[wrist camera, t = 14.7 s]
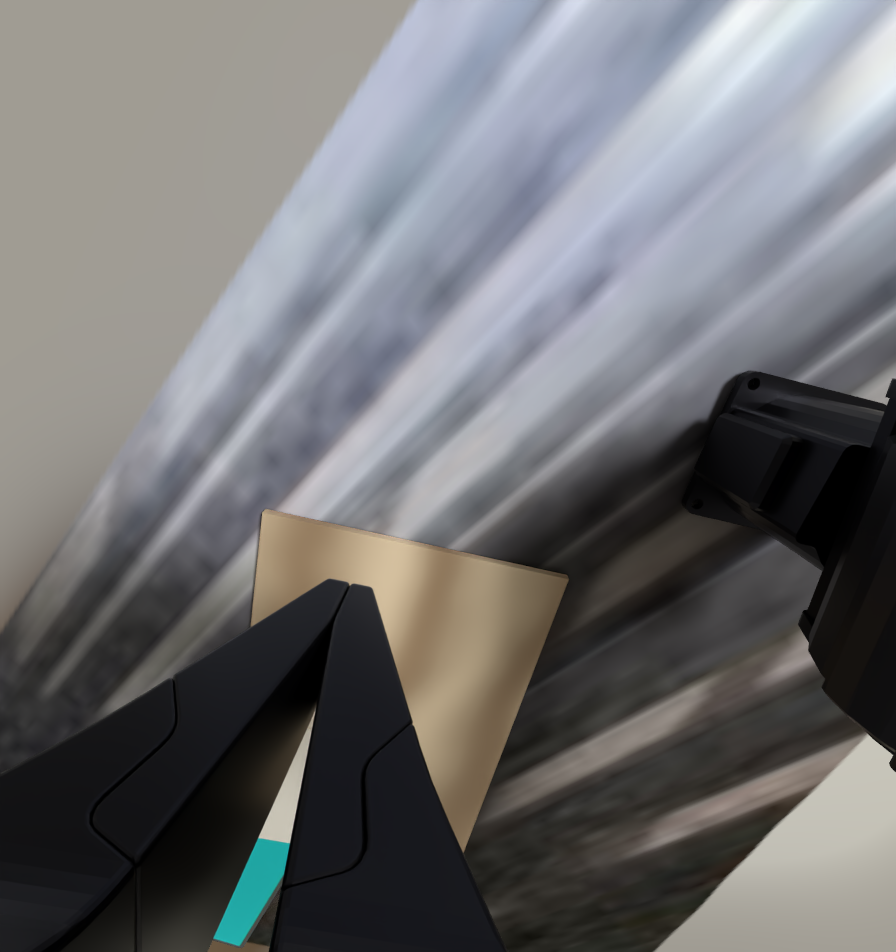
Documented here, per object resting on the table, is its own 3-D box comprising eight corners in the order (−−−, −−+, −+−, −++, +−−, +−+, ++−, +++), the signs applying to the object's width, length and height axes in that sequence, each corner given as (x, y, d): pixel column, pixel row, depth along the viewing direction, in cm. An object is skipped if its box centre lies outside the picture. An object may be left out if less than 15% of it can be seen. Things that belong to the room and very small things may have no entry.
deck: (341, 735, 22) (222, 713, 22) (318, 848, 25) (213, 830, 25) (351, 699, 24) (243, 679, 24) (328, 807, 27) (231, 790, 27)
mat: (566, 574, 22) (568, 579, 21) (460, 853, 29) (460, 859, 29) (265, 509, 21) (262, 512, 20) (233, 813, 28) (230, 820, 28)
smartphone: (315, 830, 28) (241, 949, 32) (319, 816, 29) (247, 934, 33) (204, 791, 27) (144, 920, 31) (211, 778, 28) (152, 905, 32)
